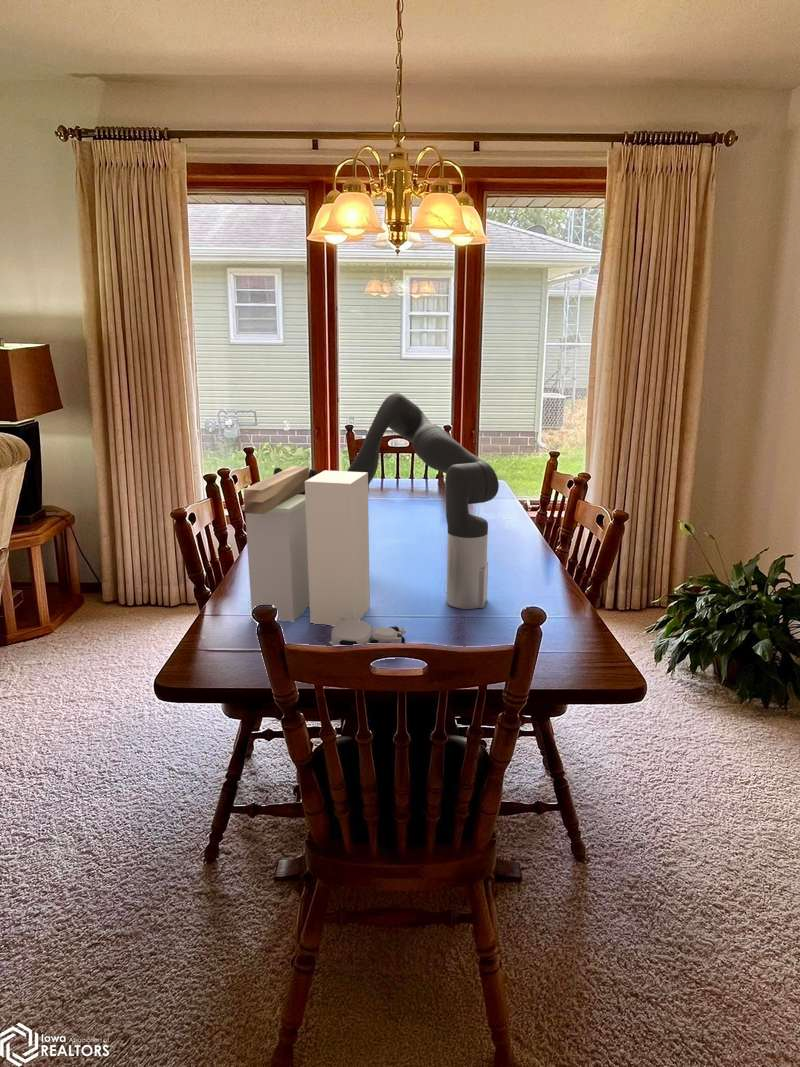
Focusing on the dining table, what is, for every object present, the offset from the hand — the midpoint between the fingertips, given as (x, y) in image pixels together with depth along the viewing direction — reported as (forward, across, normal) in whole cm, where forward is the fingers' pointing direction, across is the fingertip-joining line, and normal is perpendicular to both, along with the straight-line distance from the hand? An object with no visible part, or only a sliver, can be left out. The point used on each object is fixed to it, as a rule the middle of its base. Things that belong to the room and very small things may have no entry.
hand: (293, 472), depth 165 cm
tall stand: (-7, +14, +31) cm, 35 cm away
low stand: (-7, 0, +31) cm, 32 cm away
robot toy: (+5, +25, +39) cm, 46 cm away
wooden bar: (+5, 0, +8) cm, 9 cm away
